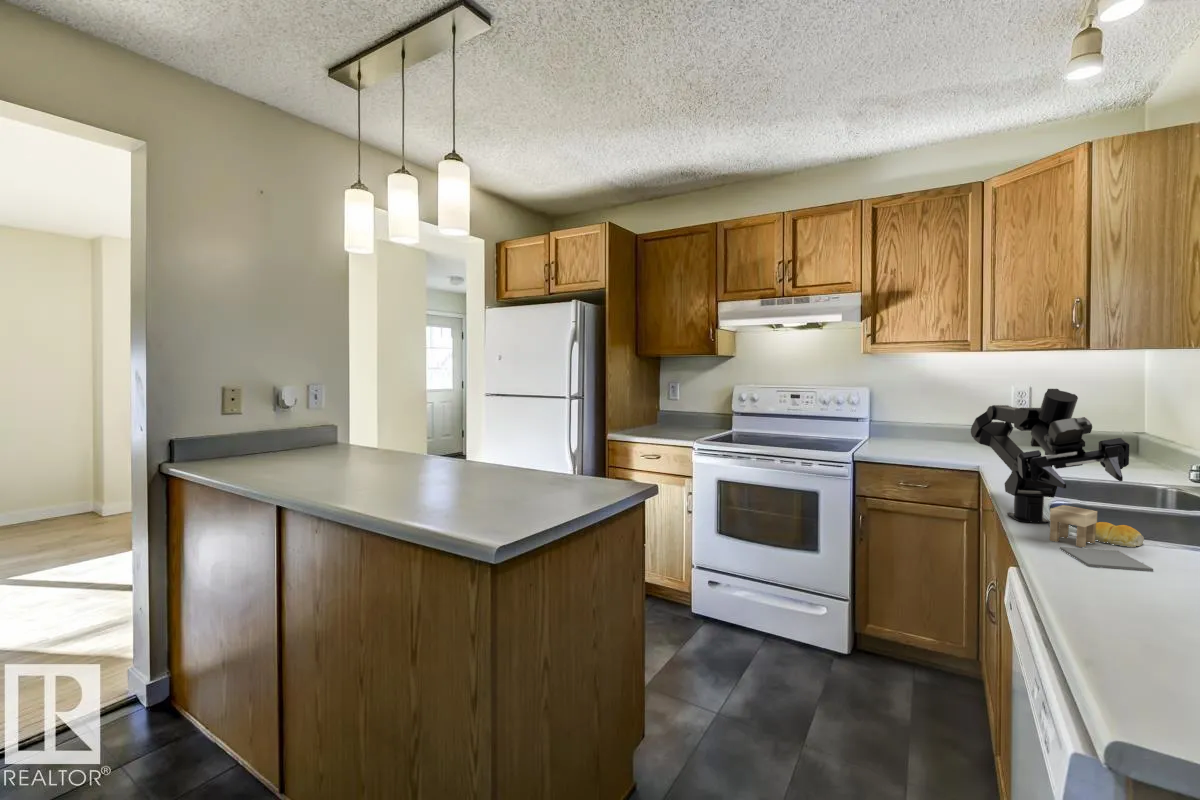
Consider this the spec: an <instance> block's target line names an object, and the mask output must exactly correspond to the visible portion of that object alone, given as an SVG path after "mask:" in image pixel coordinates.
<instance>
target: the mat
mask: <svg viewBox="0 0 1200 800" xmlns="http://www.w3.org/2000/svg"><path fill="white" fill-rule="evenodd" d="M1060 549H1061V550H1060ZM1059 550H1060V551H1062V550H1063V551H1062V552H1064V551H1065V552H1066V553H1065V552H1064V553H1065V554H1067V553H1068V554H1067V555H1069V554H1070V555H1071V556H1070V555H1069V556H1070V557H1072V556H1073V557H1075V558H1077V559H1078V560H1080V561H1081V562H1080V561H1079V562H1080V563H1082V564H1083V563H1084V564H1083V565H1085V564H1086V565H1085V566H1087V567H1088V566H1091V567H1090V568H1100V567H1103V569H1104V568H1105V569H1114V570H1115V569H1116V570H1129V571H1141V570H1142V571H1143V572H1154V568H1153V567H1151V566H1150V565H1147V564H1145V563H1143V562H1141V561H1139V560H1137V559H1135V558H1133V557H1131V556H1129V555H1128V554H1125V553H1124V552H1121V551H1120V550H1115V549H1114V550H1112V549H1111V550H1110V549H1098V548H1086V547H1085V548H1081V547H1068V546H1065V547H1064V546H1059ZM1073 557H1072V558H1073ZM1075 558H1074V559H1075ZM1077 559H1076V560H1077ZM1078 560H1077V561H1078Z"/></svg>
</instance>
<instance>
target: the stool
mask: <svg viewBox="0 0 1200 800" xmlns="http://www.w3.org/2000/svg"><path fill="white" fill-rule="evenodd" d="M1049 510H1050V511H1049V521H1050V523H1049V524H1050V525H1049V542H1050V541H1052V542H1054V541H1055V543H1057V542H1059V540H1060V538H1062V537H1064V538H1063V539H1068V538H1069V533H1070V532H1069V527H1070V525H1073V526H1076V539H1075V541H1076V543H1075V547H1076V546H1079V547H1078V548H1081V547H1085V546H1087V545H1086V544H1087V543H1086V542H1090V543H1094V544H1096V541H1095V532H1096V523H1097V522H1098V510H1094V509H1093V510H1092V509H1086V508H1081V507H1076V506H1071V505H1065V504H1062V505H1058V506H1055V507H1051V508H1049ZM1067 537H1068V538H1067ZM1085 548H1086V547H1085Z"/></svg>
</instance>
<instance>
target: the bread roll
mask: <svg viewBox="0 0 1200 800" xmlns="http://www.w3.org/2000/svg"><path fill="white" fill-rule="evenodd" d="M1095 540H1098V541H1100V542H1099V543H1101V542H1105V543H1104V544H1109V543H1110V544H1109V545H1111V544H1114V545H1120V546H1119V547H1121V546H1127V547H1126V548H1137V547H1136V546H1139V547H1141V546H1142V545H1143V544H1144V542H1145V538H1144V536H1143V535H1142V534H1141V532H1139V531H1138V530H1137V529H1136V528H1133V527H1132V526H1129V525H1126V524H1120V525H1115V524H1112V523H1111V522H1110V523H1109V522H1106V521H1097V523H1096V532H1095ZM1143 541H1144V542H1143ZM1107 542H1108V543H1107ZM1114 545H1113V546H1114Z"/></svg>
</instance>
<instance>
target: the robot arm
mask: <svg viewBox="0 0 1200 800" xmlns="http://www.w3.org/2000/svg"><path fill="white" fill-rule="evenodd" d="M1078 399H1079V397H1078V396H1077V395H1076V394H1075V393H1071V392H1068V391H1063V390H1060V389H1059V388H1047V389H1046V392H1045V393H1044V394H1043V399H1042V402H1041V405H1040V407H1016V406H1015V407H1014V406H1011V405H1008V404H1007V405H1006V404H1005V405H1002V404H998V405H996V404H993V405H989V406H988V408H987V409H986V411H985V412H983V413H982V414H980V415H979V416H977V417H976V418H975V419H974V421H973V423H972V425H971V427H970V435H971V437H972V438H973V440H974V441H975V442H977V443H978V444H979V445H982V446H986V447H989V448H991V450H993V452H994V453H995V454H996V455H997V456H998V457H999V458H1000V459H1001V461H1002V462H1003V463H1004V464H1005V465H1006V466H1007V467H1008V469H1009V470H1010V471H1011V473H1010V474H1009V476H1008V477H1007V479H1006V481H1005V482H1004V491H1005V493H1008V494H1009V495H1011V496H1013V497H1014V498H1013V500H1014V501H1013V512H1007V516H1009V517H1011V518H1012V519H1014V520H1016V521H1017V522H1020V523H1021V522H1023V523H1034V524H1035V523H1036V524H1037V523H1038V524H1039V523H1040V524H1050V521H1051V520H1048V519H1046V518H1044V509H1045V508H1044V506H1045V505H1044V504H1045V503H1044V501H1045V498H1055V497H1056V493H1057V489H1058V488H1061V489H1067V483H1066V482H1065V480H1064V479H1063V478H1062V477H1061V476H1060V474H1058V472H1057V471H1056V470H1058V469H1063V468H1064V469H1066V468H1071V467H1079V466H1083V465H1085V464H1092V463H1100V465H1101V466H1102V467H1103V468H1104V470H1105V472H1106V473H1107V474H1109V475H1110V476H1111V477H1113V478H1114V479H1115V480H1117V481H1118V482H1123V474H1122V470H1123V469H1124V468H1125V467H1127V466H1129V465H1130V443H1129V442H1128V441H1126V440H1125V439H1124V438H1122V437H1116V438H1111V439H1104V440H1100V441H1098V449H1097V450H1091V451H1090V450H1089V451H1085V450H1084V449H1083V448H1085V447H1086V441H1085V440H1084V439H1083V436H1084V435H1087V434H1091V433H1092V429H1093V424H1092V422H1091V421H1090V420H1089V419H1088V418H1087V417H1084V416H1082V417H1078V418H1075V417H1073V415H1074V411H1075V408H1076V405H1077V402H1078ZM1014 428H1015V429H1017V430H1018V431H1020V432H1030V436H1031V440H1030V447H1034V448H1035V447H1036V448H1037V447H1039V448H1041V449H1042V450H1043V451H1044V455H1042V452H1041V450H1039V449H1038V450H1031V451H1023V450H1022V449H1021V448H1020V447H1019V446H1018V445H1017V444H1016V443H1015V442H1014V440H1012V439H1011V437H1010V435H1011V434H1012V431H1013V430H1014ZM1053 467H1054V468H1055V469H1054V468H1053Z"/></svg>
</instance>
